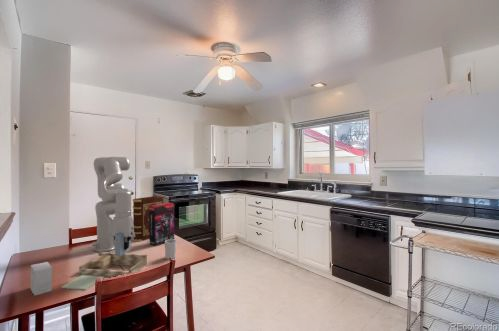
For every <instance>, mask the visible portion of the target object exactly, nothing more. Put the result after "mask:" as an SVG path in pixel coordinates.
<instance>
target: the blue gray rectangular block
mask: <svg viewBox="0 0 499 331" xmlns="http://www.w3.org/2000/svg"><path fill="white" fill-rule="evenodd" d="M130 236H131V235H130ZM131 240H132V239H131ZM131 240H130V241H129V248H128V249H126V250H124V242H125V237H123V234H118V233H117V234H115V238H114V245H115V249H114V253H115V256H121V255H123V254H124V253H126V254H127V253H128V252H130V251H131V247H132V246H131V244H132V243H131V242H132V241H131Z"/></svg>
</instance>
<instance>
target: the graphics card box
mask: <svg viewBox="0 0 499 331" xmlns="http://www.w3.org/2000/svg"><path fill="white" fill-rule="evenodd" d="M174 208H175V205H174V203H173V202H163V204H156V205H150V206H149V235H150V238H149V245H151V246H155V247H156V246H158V245H163V244H165V241H166V240H169V239H175V212H174V211H175V209H174Z"/></svg>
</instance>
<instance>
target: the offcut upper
mask: <svg viewBox="0 0 499 331" xmlns="http://www.w3.org/2000/svg"><path fill="white" fill-rule="evenodd" d="M95 258H96V259H95ZM95 258H93V259H94V260H93V259H92V260H93V261H91V260H90V261H91V267H104V266H105V265H106V264H108V263H109V262H110V261H111V256H99V255H98V256H97V257H95Z"/></svg>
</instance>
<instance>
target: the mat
mask: <svg viewBox="0 0 499 331" xmlns="http://www.w3.org/2000/svg"><path fill="white" fill-rule="evenodd" d="M98 277H101V278H103V279H105V276H98V275H83V274H80V276H78V277H76V278H74V279H73V280H71V281H69V282H68V283H65V284H63V285H62V286H61V289H65V288H66V289H68V290H81V291H83V290H84V291H86V290H88V289H90V288H91V287H93V286H94V285H95V279H96V278H98Z"/></svg>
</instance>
